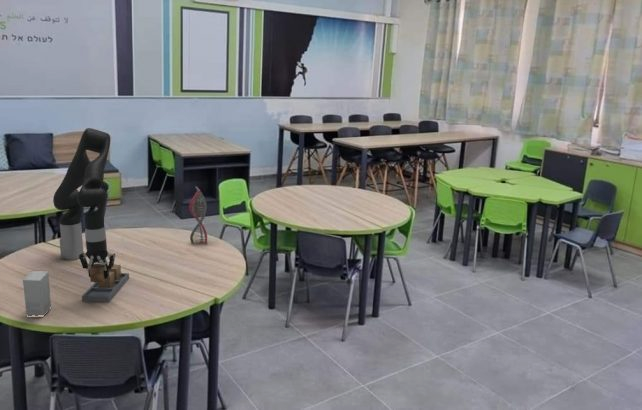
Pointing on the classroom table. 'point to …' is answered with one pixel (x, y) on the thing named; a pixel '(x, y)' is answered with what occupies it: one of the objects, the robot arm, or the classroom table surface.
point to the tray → (104, 291)
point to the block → (96, 273)
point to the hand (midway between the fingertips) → (99, 277)
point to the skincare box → (37, 293)
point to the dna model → (198, 217)
